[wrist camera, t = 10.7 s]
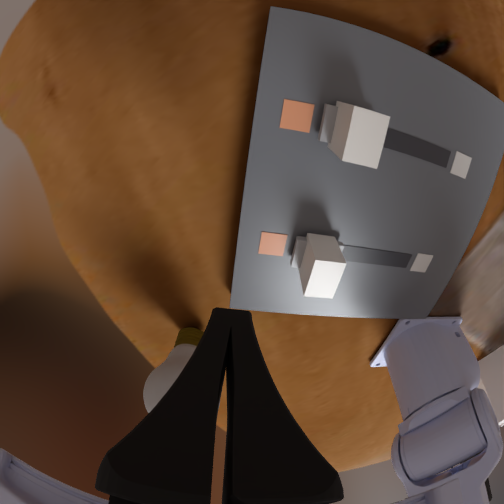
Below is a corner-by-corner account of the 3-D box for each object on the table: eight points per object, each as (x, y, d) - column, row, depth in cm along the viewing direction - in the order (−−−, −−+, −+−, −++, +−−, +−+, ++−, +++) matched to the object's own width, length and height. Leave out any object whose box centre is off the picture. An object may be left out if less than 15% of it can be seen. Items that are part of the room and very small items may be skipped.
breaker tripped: (377, 112, 13) (401, 120, 10) (367, 155, 14) (387, 171, 12) (325, 98, 13) (341, 102, 10) (316, 144, 14) (329, 158, 12)
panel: (500, 105, 12) (513, 110, 11) (419, 307, 23) (425, 319, 22) (269, 12, 11) (270, 6, 10) (230, 294, 22) (229, 308, 21)
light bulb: (172, 298, 23) (142, 406, 14) (236, 322, 24) (230, 430, 16) (156, 335, 26) (131, 428, 17) (212, 355, 27) (201, 447, 19)
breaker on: (343, 237, 17) (356, 264, 15) (332, 270, 19) (341, 299, 16) (297, 231, 17) (304, 258, 15) (289, 266, 18) (293, 295, 16)
